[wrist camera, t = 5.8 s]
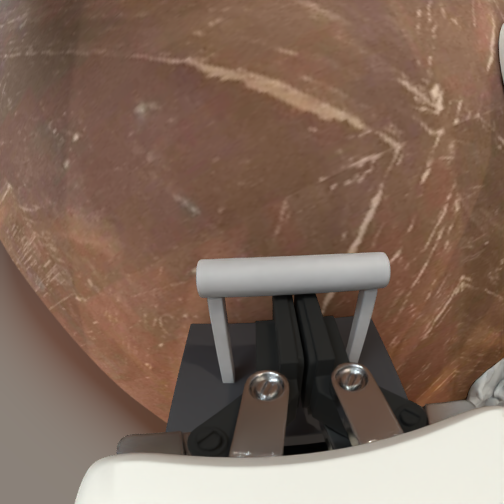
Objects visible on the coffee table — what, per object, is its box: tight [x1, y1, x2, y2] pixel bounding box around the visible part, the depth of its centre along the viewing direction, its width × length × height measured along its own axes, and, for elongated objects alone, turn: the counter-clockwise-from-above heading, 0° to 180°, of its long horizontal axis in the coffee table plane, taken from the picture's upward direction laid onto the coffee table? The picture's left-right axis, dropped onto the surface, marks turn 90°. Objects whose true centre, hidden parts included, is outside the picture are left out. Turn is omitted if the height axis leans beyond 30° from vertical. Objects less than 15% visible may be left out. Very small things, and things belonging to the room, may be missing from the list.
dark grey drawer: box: [166, 252, 408, 456], centre depth 15 cm, size 20×11×8 cm, turn 3°
